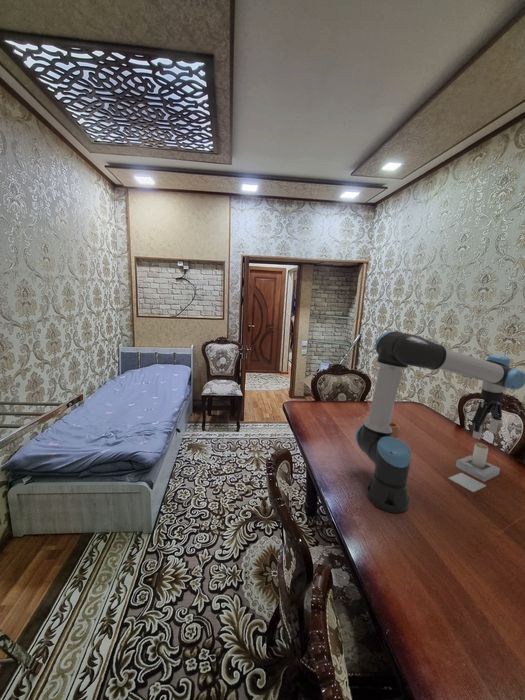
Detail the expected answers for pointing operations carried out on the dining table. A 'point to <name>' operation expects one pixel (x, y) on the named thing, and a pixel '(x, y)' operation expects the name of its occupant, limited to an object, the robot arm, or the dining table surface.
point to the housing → (477, 469)
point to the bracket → (394, 429)
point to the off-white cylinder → (479, 455)
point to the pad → (467, 482)
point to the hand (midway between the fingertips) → (484, 435)
